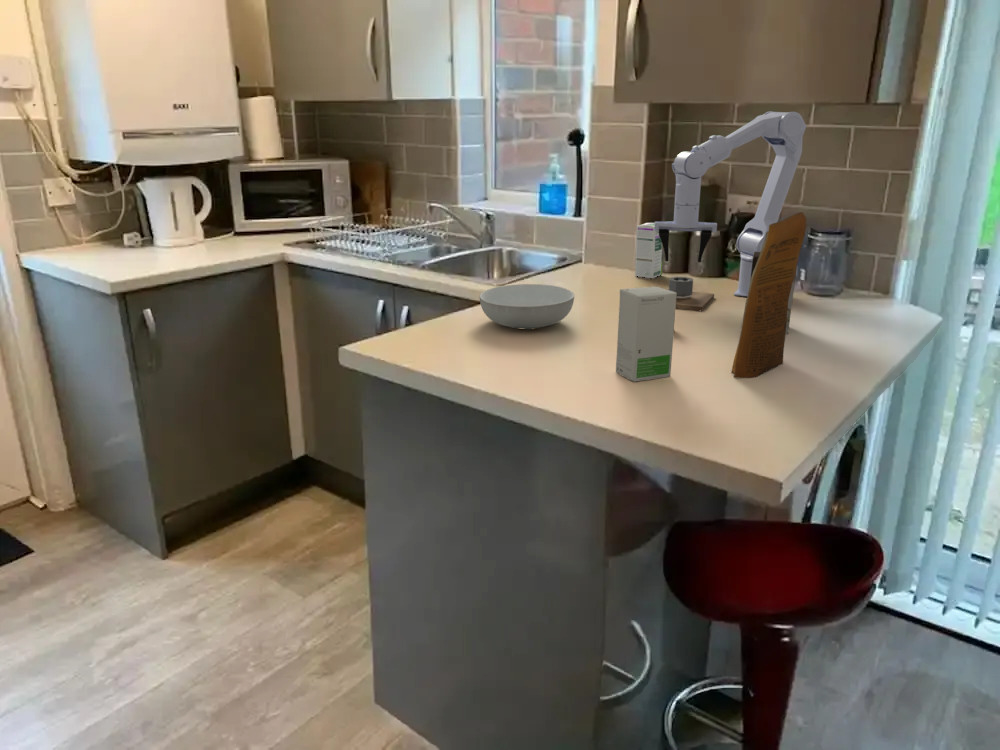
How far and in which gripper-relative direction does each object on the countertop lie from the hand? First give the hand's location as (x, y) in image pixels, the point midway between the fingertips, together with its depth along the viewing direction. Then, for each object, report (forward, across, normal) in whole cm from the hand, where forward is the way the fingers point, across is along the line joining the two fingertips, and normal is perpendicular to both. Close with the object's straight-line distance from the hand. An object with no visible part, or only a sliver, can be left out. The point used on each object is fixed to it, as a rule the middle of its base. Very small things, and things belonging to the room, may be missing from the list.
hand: (682, 261), depth 190 cm
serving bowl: (+10, +34, +28) cm, 45 cm away
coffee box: (+10, -18, +22) cm, 30 cm away
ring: (+8, 0, +1) cm, 8 cm away
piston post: (+10, 0, +1) cm, 10 cm away
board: (+10, 0, +1) cm, 10 cm away
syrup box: (+10, +9, -27) cm, 30 cm away
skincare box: (+10, +7, +57) cm, 58 cm away
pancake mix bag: (+10, -15, +50) cm, 53 cm away
